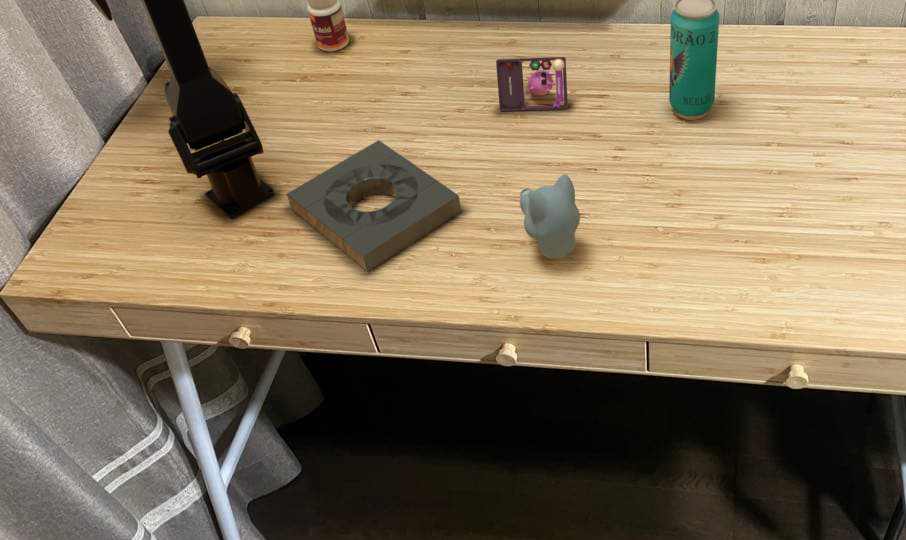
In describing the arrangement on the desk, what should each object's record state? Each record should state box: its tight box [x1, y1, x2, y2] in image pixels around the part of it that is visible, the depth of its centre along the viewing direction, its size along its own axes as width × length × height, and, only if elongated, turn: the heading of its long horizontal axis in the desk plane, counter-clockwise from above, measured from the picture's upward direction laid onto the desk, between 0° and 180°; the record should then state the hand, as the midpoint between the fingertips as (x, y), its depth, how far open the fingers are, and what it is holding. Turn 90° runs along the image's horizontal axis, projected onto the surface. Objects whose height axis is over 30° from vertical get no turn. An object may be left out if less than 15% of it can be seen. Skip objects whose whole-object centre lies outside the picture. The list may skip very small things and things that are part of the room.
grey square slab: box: [285, 140, 462, 272], centre depth 121 cm, size 16×14×2 cm
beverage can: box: [668, 0, 720, 121], centre depth 125 cm, size 6×6×15 cm
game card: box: [495, 56, 569, 112], centre depth 133 cm, size 7×5×9 cm
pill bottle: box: [307, 0, 350, 52], centre depth 145 cm, size 5×5×8 cm
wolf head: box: [519, 173, 581, 260], centre depth 112 cm, size 6×9×10 cm
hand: (140, 4), depth 132 cm, fingers open, 9 cm apart
